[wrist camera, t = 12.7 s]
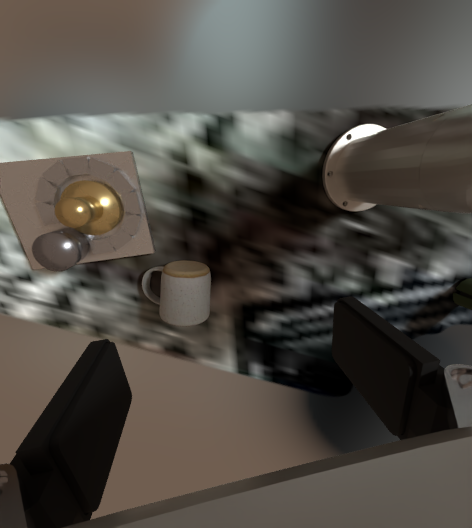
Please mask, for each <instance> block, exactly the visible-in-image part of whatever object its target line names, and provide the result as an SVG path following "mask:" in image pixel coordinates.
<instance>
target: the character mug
mask: <svg viewBox="0 0 472 528" xmlns="http://www.w3.org/2000/svg"><path fill="white" fill-rule="evenodd" d="M456 289H457V290H460V291H461V292H460V295H459V294H456V293H453V301H454V302H455V304H458V305H460V306H463V307H465V308H468V309H471V310H472V278H471V279H466V280H464V281H462V282H461V283H460V284H459V285H458V286H457V287H456Z"/></svg>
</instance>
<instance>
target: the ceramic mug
mask: <svg viewBox="0 0 472 528" xmlns="http://www.w3.org/2000/svg"><path fill="white" fill-rule="evenodd" d="M153 271H162V275H161V295H160V298H159V297H157V296H156V295H155V294H154V293H153V292H152V291H151V288H150V279H151V276H152V275H151V273H152V272H153ZM210 288H211V274H210V269H209V267H208V266H207V265H205V264H203V263H201V262H197V261H186V260H184V261H174V262H170V263H168V264H167V265H165V266H158V267H154V268H151V269H149V270H148V271H147V272H146V273H145V274H144V276H143V279H142V289H143V292H144V293H145V295H146V296H147V297H148V298H149V299H150V300H151V301H152V302H154V303H156V304H158V305H160V309H159V312H160V317H161V319H162V320H163V321H165V322H167V323H169V324H172V325H175V326H193V325H197V324H200V323H202V322H204V321H205V320H207V318H208V317H209V315H210Z"/></svg>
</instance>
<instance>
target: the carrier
mask: <svg viewBox="0 0 472 528" xmlns="http://www.w3.org/2000/svg"><path fill="white" fill-rule="evenodd" d="M83 180H87V181H97V182H100V183H103V184H105V185H107V186H108V187H110V188H111V189H112V190H113V191H114V192H115V193H116V194H117V196H118V197H119V199H120V201H121V204H122V218H121V220H120V222H119V224H118V225H117V226H116V227H115V228H114V229H112V230H110V231H109V232H107V233H104V234H101V235H87V234H84V233H81V232H79V231H77V230H76V229H74V228H71V227H67V226H65V225H63V224H62V223H61V222H60V221H59V220H58V219H57V217H56V215H55V206H56V204H57V203H58V202H59V201H60V198H61V195H62V192H63V191H64V189H65V188H66V187H67V186H69V185H70V184H72V183H74V182H77V181H83ZM0 194H1V196H2V199H3V201H4V203H5V206H6V208H7V210H8V213H9V215H10V217H11V220H12V222H13V224H14V226H15V229H16V231H17V233H18V236H19V238H20V240H21V243H22V245H23V247H24V250H25V252H26V254H27V257H28V259H29V261H30V264H31V266H32V268H33V270H35V269H43V268H47V269H49V270H53V271H63V270H67V269H69V268H70V267H72V266H73V265H75V264H79V263H86V262H93V261H100V260H108V259H115V258H122V257H129V256H136V255H144V254H151V253H155V251H156V250H155V245H154V241H153V237H152V232H151V228H150V224H149V219H148V215H147V211H146V206H145V202H144V197H143V193H142V189H141V184H140V180H139V176H138V171H137V167H136V163H135V158H134V154H133V152H131V151H127V152H116V153H105V154H94V155H83V156H72V157H61V158H50V159H38V160H27V161H16V162H5V163H0Z"/></svg>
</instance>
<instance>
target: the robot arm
mask: <svg viewBox="0 0 472 528" xmlns="http://www.w3.org/2000/svg"><path fill="white" fill-rule="evenodd" d="M346 137H347V139H346ZM327 174H328V175H327ZM322 179H323V186H324V189H325V192H326V194H327V196H328V198H329V199H330V200H331V202H332V203H333V204H335V205H336V206H337V207H339V208H341V209H343V210H348V211H356V212H357V211H364V210H367V209H370V208H372V207H373V206H375V205H377V204H381V205H389V206H398V207H407V208H416V209H425V210H434V211H443V212H454V213H472V104H471V105H468V106H465V107H462V108H458V109H455V110H451V111H448V112H444V113H441V114H438V115H434V116H431V117H427V118H424V119H420V120H417V121H413V122H410V123H407V124H403V125H400V126H396V127H393V128H389V129H385V128H384V127H382V126H379V125H376V124H363V125H359V126H356V127H353V128H351V129H349V130H348V131H346V132H344V133H343V134H342V135H341V136H339V137H338V138H337V140H336V141H335V142H334V143H333V144H332V146H331V148H330V149H329V151H328V153H327V156H326V158H325V161H324V165H323V173H322ZM332 355H333V358H334V360H335V361H336V363H337V364H338V365H339V366H340V368H341V369H342V370H343V372H344V373H345V374H346V375H347V377H348V378H349V379H350V381H351V382H352V383H353V385H354V386H355V387H356V388H357V390H358V391H359V392H360V393H361V395H362V396H363V397H364V398H365V400H366V401H367V403H368V404H369V405H370V406H371V408H372V409H373V410H374V412H375V413H376V414H377V416H378V417H379V418H380V419H381V421H382V422H383V423H384V425H385V426H386V427H387V428H388V430H389V431H390V432H391V433H392V434H393V435H395V436H398V437H399V438H400V440H399V441H396V442H392V443H387V444H383V445H379V446H375V447H371V448H367V449H363V450H359V451H355V452H351V453H347V454H343V455H339V456H334V457H330V458H327V459H322V460H318V461H314V462H311V463H306V464H302V465H299V466H295V467H291V468H287V469H283V470H279V471H275V472H271V473H267V474H263V475H259V476H255V477H251V478H247V479H243V480H239V481H236V482H232V483H227V484H224V485H220V486H216V487H212V488H208V489H204V490H201V491H197V492H193V493H189V494H185V495H181V496H177V497H173V498H170V499H166V500H162V501H158V502H154V503H150V504H147V505H143V506H139V507H135V508H132V509H127V510H124V511H120V512H116V513H113V514H109V515H106V516H103V517H99V518H96V519H92V520H90V518H91V515H92V512H94V511H96V510H97V509H98V507H99V505H100V502H101V498H102V495H103V492H104V489H105V486H106V482H107V479H108V476H109V472H110V469H111V466H112V463H113V460H114V456H115V453H116V450H117V447H118V443H119V440H120V437H121V434H122V430H123V427H124V424H125V421H126V417H127V414H128V411H129V408H130V404H131V399H132V393H131V390H130V387H129V384H128V381H127V378H126V375H125V372H124V369H123V366H122V363H121V360H120V357H119V354H118V352H117V349H116V346H115V343H114V342H110V341H109V340H108V339H105V340H99V341H93V342H91V343H90V344H89V345H88V347H87V348H86V350H85V351H84V352H83V354H82V355H81V357H80V358H79V360H78V361H77V363H76V364H75V366H74V367H73V369H72V370H71V372H70V373H69V374H68V376H67V377H66V379H65V380H64V382H63V383H62V385H61V386H60V388H59V389H58V391H57V392H56V394H55V395H54V396H53V398H52V400H51V401H50V402H49V404H48V405H47V407H46V408H45V410H44V411H43V413H42V414H41V416H40V417H39V419H38V420H37V422H36V423H35V424H34V426H33V427H32V429H31V430H30V432H29V433H28V435H27V436H26V438H25V439H24V440H23V442H22V443H21V445H20V446H19V448H18V450H17V451H16V455H15V457H14V458H13V460H12V461H11V463H10V464H7V463H6V464H0V528H472V366H467V365H462V364H457V365H456V364H454V365H450V366H447V367H446V369H444V368H443V367H441V366H440V365H439V363H440V360H439V359H438V358H437V357H435V356H434V355H432V354H431V353H430V352H428V351H427V350H426V349H424V348H423V347H421V346H420V345H419V344H417V343H416V342H415V341H413V340H412V339H410V338H409V337H408V336H406V335H405V334H404V333H402V332H401V331H399V330H398V329H397V328H395V327H394V326H393V325H391V324H390V323H388V322H387V321H386V320H384V319H383V318H382V317H380V316H379V315H378V314H376V313H375V312H373V311H372V310H371V309H369V308H368V307H367V306H365V305H364V304H362V303H361V302H360V301H358V300H357V299H356V298H354V297H346V298H340V299H338V301H337V302H336V303H335V304H334V319H333V339H332Z"/></svg>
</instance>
